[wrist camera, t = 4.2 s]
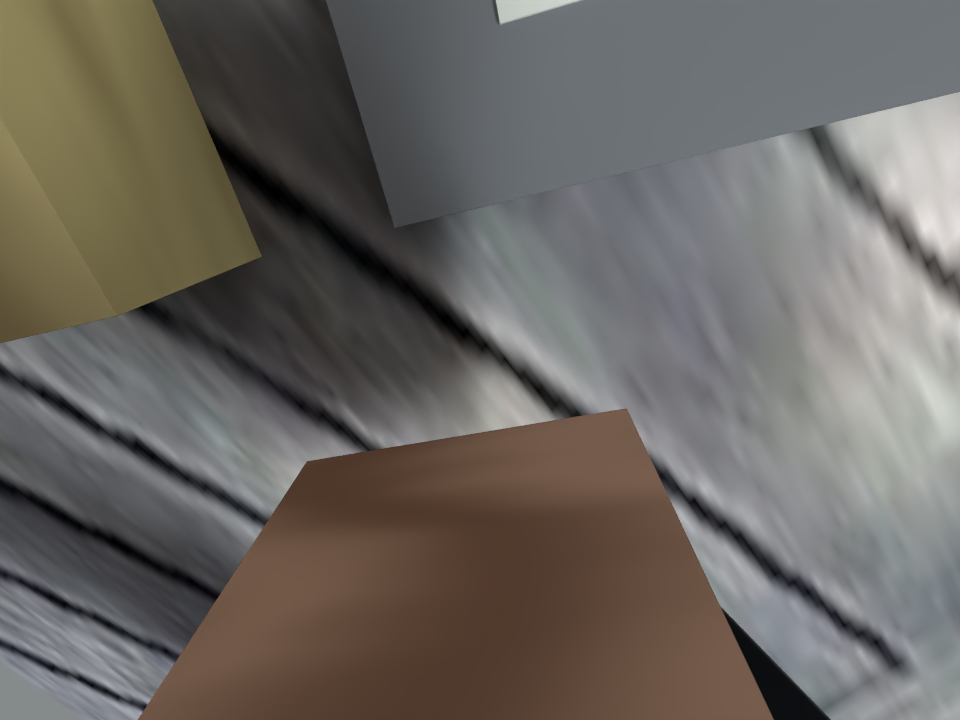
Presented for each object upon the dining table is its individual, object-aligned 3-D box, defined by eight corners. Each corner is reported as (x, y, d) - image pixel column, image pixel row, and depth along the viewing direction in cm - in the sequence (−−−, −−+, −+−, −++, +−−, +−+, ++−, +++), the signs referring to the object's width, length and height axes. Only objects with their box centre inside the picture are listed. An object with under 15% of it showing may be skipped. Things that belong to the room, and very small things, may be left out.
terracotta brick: (400, 657, 11) (323, 1015, 6) (307, 461, 9) (78, 809, 4) (652, 634, 10) (772, 1028, 6) (626, 408, 8) (798, 772, 3)
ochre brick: (76, 301, 13) (-157, 379, 8) (-72, 61, 11) (-511, -11, 6) (264, 255, 12) (117, 315, 7) (148, -16, 10) (-168, -170, 5)
